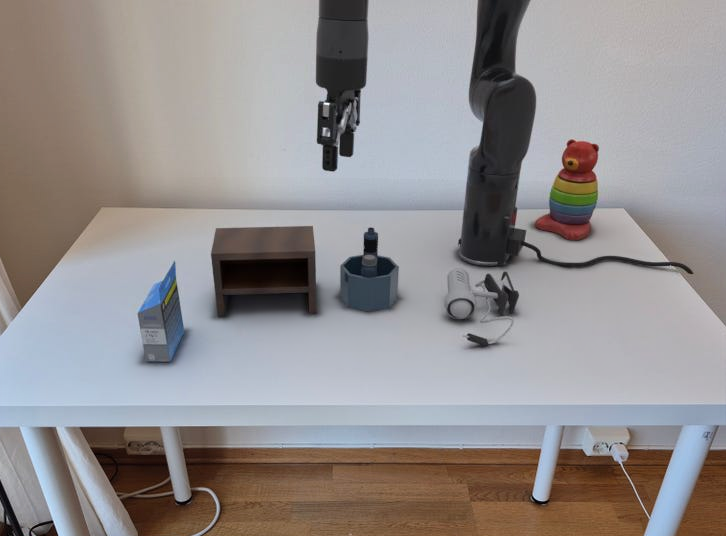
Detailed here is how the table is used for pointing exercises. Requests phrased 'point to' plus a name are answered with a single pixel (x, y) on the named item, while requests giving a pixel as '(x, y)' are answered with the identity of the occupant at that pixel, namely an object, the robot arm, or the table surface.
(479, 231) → the robot arm
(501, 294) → the clip-on lamp
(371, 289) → the pen pot
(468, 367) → the table surface
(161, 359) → the blue cardboard box
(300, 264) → the block
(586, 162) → the stacking bear
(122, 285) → the table surface
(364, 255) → the vaping device
